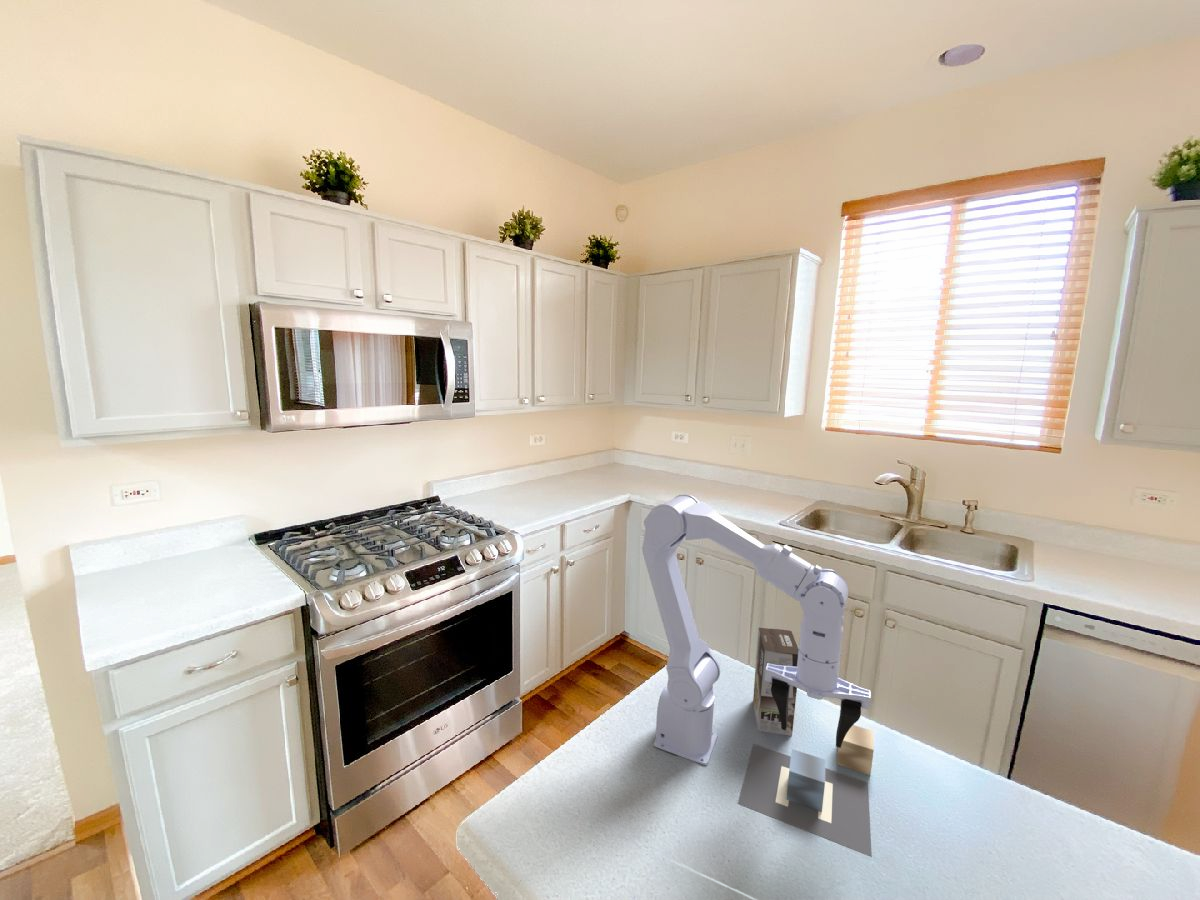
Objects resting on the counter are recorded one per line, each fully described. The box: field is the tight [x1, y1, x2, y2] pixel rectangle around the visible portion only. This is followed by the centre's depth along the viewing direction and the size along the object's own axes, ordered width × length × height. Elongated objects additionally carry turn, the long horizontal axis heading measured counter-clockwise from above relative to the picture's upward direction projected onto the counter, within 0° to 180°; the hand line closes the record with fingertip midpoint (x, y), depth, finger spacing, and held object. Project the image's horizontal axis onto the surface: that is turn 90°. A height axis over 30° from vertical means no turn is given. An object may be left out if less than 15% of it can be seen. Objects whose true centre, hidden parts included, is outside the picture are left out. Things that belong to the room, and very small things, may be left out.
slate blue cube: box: [786, 748, 827, 812], centre depth 77 cm, size 5×5×5 cm
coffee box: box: [752, 627, 799, 737], centre depth 94 cm, size 9×6×16 cm
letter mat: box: [737, 743, 873, 858], centre depth 78 cm, size 18×14×1 cm
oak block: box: [836, 724, 874, 776], centre depth 85 cm, size 5×5×5 cm
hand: (810, 734), depth 76 cm, fingers open, 7 cm apart
